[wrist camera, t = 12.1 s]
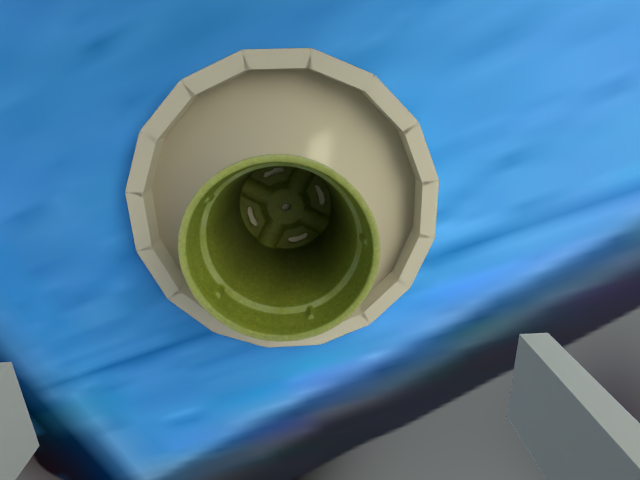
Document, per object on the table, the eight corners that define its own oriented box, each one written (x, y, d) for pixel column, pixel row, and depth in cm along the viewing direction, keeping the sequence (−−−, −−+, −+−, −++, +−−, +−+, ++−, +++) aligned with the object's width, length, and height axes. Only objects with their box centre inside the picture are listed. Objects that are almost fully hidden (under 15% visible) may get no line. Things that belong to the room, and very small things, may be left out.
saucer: (117, 56, 25) (98, 53, 23) (434, 48, 26) (448, 44, 23) (166, 333, 32) (155, 353, 29) (418, 320, 32) (427, 338, 30)
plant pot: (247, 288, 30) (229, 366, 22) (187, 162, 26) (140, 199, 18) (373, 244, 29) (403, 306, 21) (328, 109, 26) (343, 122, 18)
